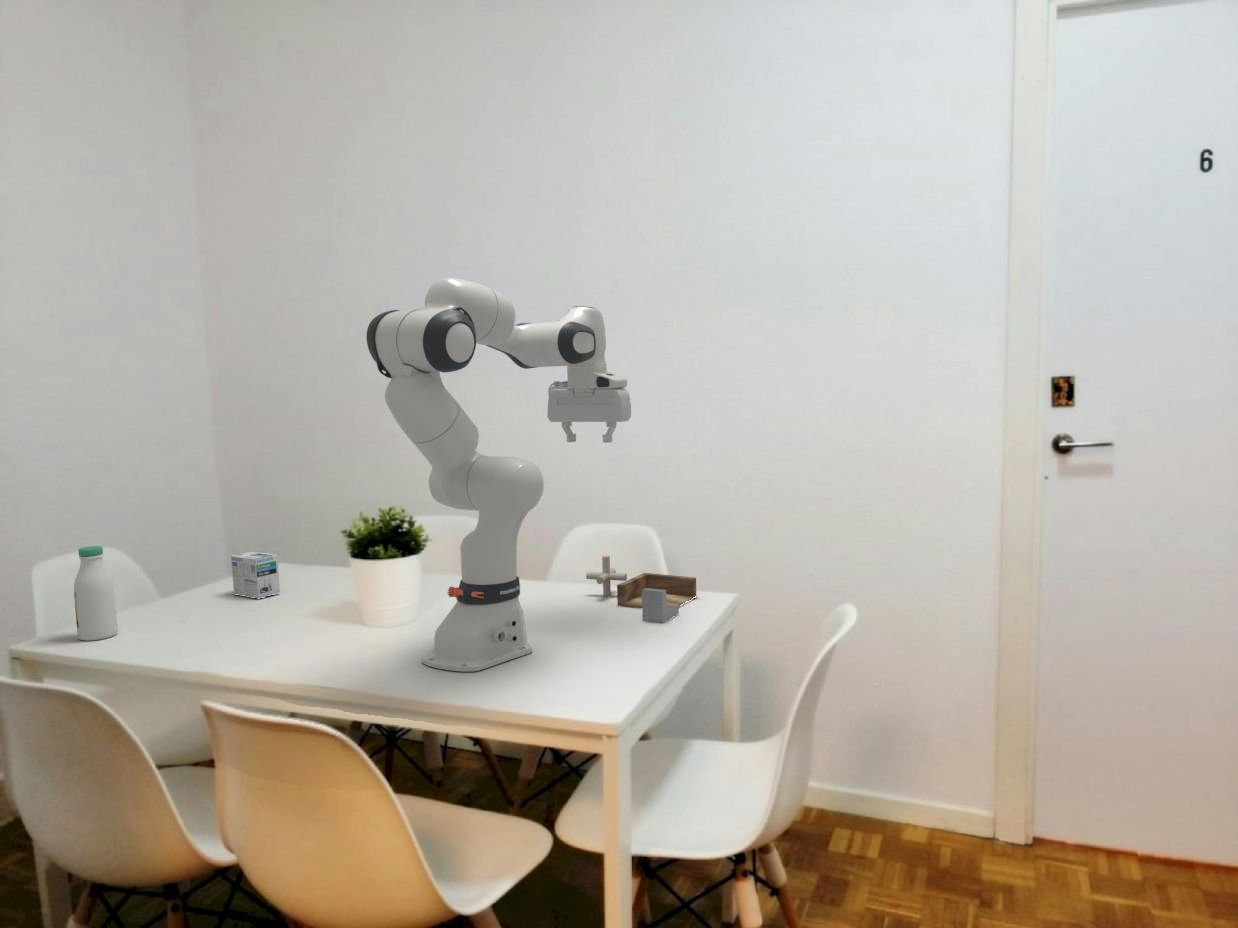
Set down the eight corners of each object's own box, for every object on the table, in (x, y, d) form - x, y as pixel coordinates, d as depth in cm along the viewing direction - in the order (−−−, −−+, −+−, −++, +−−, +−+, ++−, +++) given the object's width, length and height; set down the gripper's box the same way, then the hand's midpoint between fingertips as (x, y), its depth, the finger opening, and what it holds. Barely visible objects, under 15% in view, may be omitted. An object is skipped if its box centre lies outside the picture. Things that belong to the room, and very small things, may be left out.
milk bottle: (126, 632, 202) (118, 544, 200) (97, 642, 195) (89, 551, 193) (98, 630, 205) (90, 543, 203) (69, 640, 197) (61, 550, 195)
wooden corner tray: (670, 611, 207) (670, 590, 206) (617, 605, 214) (617, 584, 213) (696, 597, 219) (696, 577, 218) (645, 592, 226) (644, 572, 225)
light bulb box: (281, 594, 235) (278, 553, 234) (258, 600, 229) (255, 558, 228) (255, 590, 240) (252, 550, 239) (232, 595, 235) (229, 555, 234)
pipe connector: (581, 600, 220) (579, 559, 219) (594, 590, 229) (593, 551, 228) (620, 602, 217) (619, 561, 216) (632, 592, 226) (631, 552, 225)
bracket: (662, 623, 198) (662, 591, 197) (642, 620, 200) (641, 589, 199) (678, 614, 205) (678, 584, 204) (659, 612, 207) (658, 582, 206)
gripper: (540, 381, 204) (543, 442, 206) (619, 379, 194) (621, 443, 196) (555, 381, 210) (558, 440, 211) (633, 379, 200) (635, 441, 201)
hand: (589, 442), depth 203 cm, fingers open, 8 cm apart
